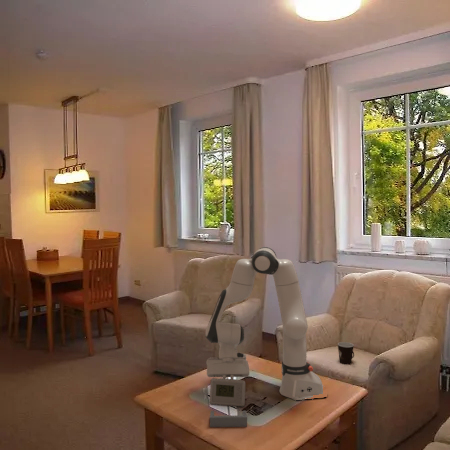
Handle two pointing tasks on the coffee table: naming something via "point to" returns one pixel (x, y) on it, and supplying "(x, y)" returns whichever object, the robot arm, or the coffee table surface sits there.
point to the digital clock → (227, 392)
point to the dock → (228, 420)
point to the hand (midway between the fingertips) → (228, 385)
